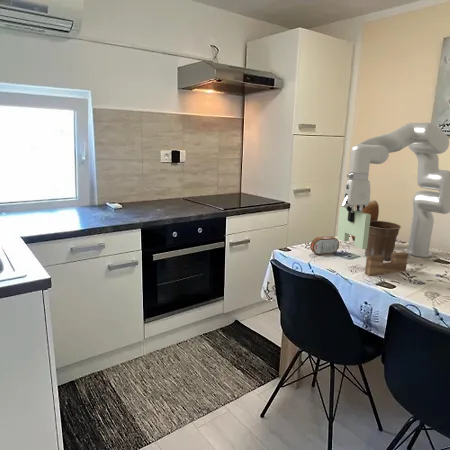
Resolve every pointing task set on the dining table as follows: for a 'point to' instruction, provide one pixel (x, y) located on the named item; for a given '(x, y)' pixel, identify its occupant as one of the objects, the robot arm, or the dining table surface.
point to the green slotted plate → (354, 227)
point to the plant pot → (382, 238)
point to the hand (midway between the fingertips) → (353, 220)
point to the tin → (324, 245)
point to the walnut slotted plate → (386, 264)
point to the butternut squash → (370, 212)
